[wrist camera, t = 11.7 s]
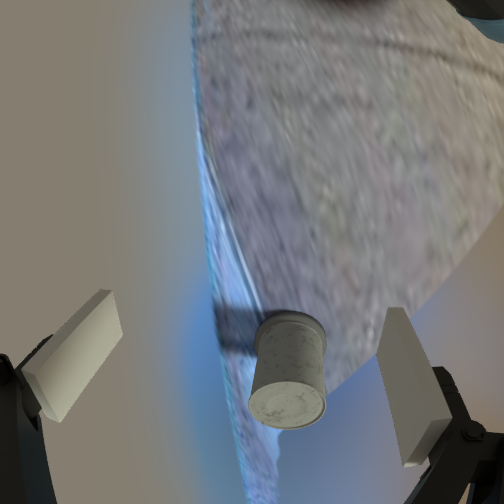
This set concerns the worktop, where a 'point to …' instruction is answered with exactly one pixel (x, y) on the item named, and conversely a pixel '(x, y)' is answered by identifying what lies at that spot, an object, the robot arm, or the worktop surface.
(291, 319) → the pad
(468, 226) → the worktop surface
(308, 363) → the grey marble cylinder
